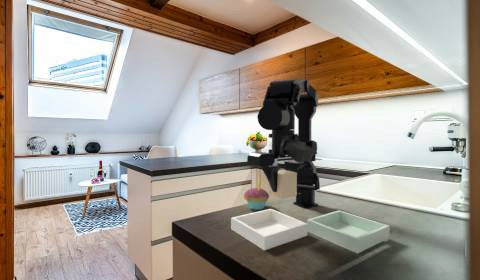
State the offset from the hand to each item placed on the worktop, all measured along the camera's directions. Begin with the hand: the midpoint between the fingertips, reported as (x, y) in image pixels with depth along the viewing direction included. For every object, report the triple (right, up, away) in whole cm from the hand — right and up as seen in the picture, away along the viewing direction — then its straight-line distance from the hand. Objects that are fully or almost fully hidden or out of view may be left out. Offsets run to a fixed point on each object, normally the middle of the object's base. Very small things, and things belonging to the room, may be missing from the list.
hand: (282, 190), depth 63 cm
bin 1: (-4, -12, 0) cm, 12 cm away
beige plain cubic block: (0, -1, 0) cm, 1 cm away
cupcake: (-5, -11, +21) cm, 24 cm away
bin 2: (+16, -12, -1) cm, 20 cm away
